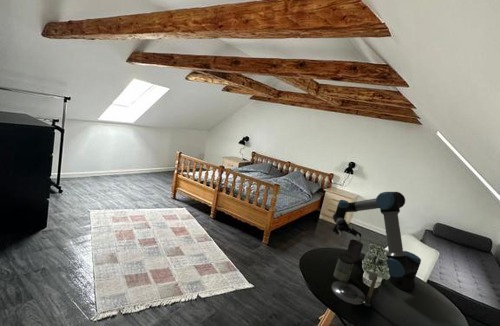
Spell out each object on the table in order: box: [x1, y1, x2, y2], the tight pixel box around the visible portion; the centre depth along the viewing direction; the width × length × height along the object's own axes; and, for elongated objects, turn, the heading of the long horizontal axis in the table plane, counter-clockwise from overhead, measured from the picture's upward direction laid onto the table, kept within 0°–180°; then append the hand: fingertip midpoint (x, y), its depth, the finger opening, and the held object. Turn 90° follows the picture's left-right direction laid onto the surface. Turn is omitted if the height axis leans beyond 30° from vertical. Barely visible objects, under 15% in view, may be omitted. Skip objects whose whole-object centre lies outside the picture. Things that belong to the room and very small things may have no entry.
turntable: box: [331, 280, 366, 306], centre depth 171 cm, size 20×20×1 cm
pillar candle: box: [345, 239, 364, 263], centre depth 212 cm, size 10×10×15 cm
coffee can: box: [333, 253, 356, 283], centre depth 185 cm, size 10×10×14 cm
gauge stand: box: [362, 271, 379, 308], centre depth 162 cm, size 5×4×19 cm
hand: (350, 238), depth 192 cm, fingers open, 13 cm apart
